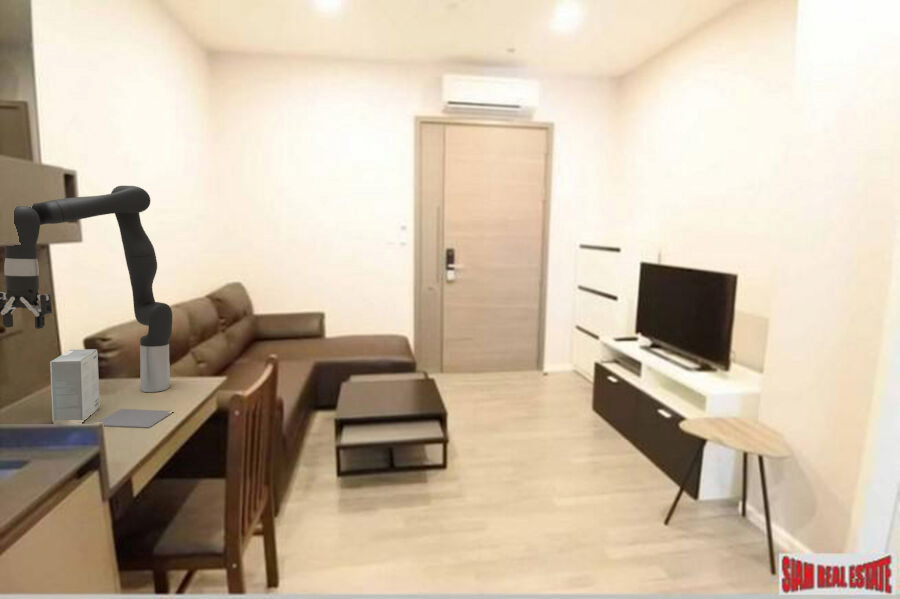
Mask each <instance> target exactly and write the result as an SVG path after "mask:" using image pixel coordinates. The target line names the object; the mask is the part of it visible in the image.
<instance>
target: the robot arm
mask: <svg viewBox="0 0 900 599" xmlns="http://www.w3.org/2000/svg"><path fill="white" fill-rule="evenodd" d="M33 203H34V204H33V206H32V208H31V207H28V206H17V207H16V208H15V210H14V224H15V226H16V229H17V232H18V236H19V242H20V243H21V245H14V246H6V247H5V246H4V267H3V269H4V271H3V274H4V288H5V290H6V292H5V291H0V315H2V325H3V326H4V328H8V329H10V328H12V327H14V318H13V317H14V316H13V312H14V311H15V309H19V308H21V309H28V311H30V312H32V314H34V327H35V329H37V330H38V329H39V330H40V329H43V328H44V327H45V325H46V322H45V316H46V315H49V314H52V312H53V310H52V308H53V307H52V299H51V294H50V293H45V294H40V293H39V289H40V273H39V272H40V271H39V261H38V247H37V243H38V239H39V234H40V228H41V225H50V224H51V225H54V224H57V225H58V224H61V223H67V222H73V221H78V220H83V219H87V218H92V217H93V218H94V217H99V216H105V215H111V214H113V215H115V218H116V220H117V221H116V222H117V226H118V228H119V234H120V238H121V242H122V247H123V252H124V258H125V262H126V267H127V270H128V274H129V280H130V285H131V290H132V301H133V311H134V317H135V320H136V321H137V323H139V324H140V325H143V326H147V327H148V332H147V334H145V335H142V336H141V337H140V340H139V347H140V348H139V350H140V351H139V352H140V353H139V356H140V361H139V362H140V363H139V364H140V368H139V369H140V371H139V372H140V376H139V377H140V378H139V379H140V383H139V384H140V386H139V387H140V391H141V392H144V393H157V392H162V391H166V390H168V389H169V388H170V386H171V382H170V381H171V380H170V378H171V377H170V376H171V375H170V373H171V372H170V371H171V370H170V369H171V364H170V363H171V362H170V339H171V336H172V334H173V332H172V331H173V310H172V308H171V306H170V305H169V304H167V303H164V302H161V301H160V302H159V301H156V300H155V297H154V292H153V284H154V280H155V278H156V274H157V270H158V260H157V255H156V251H155V248H154V245H153V243H152V241H151V240H150V237H149V236H148V234H147V233H146V231H145V230H144V227H143V224H142V221H141V217H140V213H143V212H144V211H146V210H147V209H148V208H149V207H150V205H151V196H150V194H149V193H148V192H147V191H146V190H145V189H143V188H141V187H140V186H135V185H118V186H116V187H114V188H113V189H112V191H111V193H107V194H102V195H101V194H100V195H90V196H75V197H67V198H66V197H64V198H57V199H52V200H46V201H43V202H42V201H41V202H33ZM39 302H40V303H39Z"/></svg>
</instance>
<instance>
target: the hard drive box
mask: <svg viewBox="0 0 900 599" xmlns="http://www.w3.org/2000/svg"><path fill="white" fill-rule="evenodd" d="M98 356H99V355H98V349H95V348H93V349H92V348H90V349H89V348H88V349H87V348H85V349H69V350H67V351H66V352H64V353H62V354H61V355H59V356H58V357H56V358H54V359H53V360H51V361H50V362H49V370H50V388H51V389H50V393H51V412H52V413H51V417H52V421H53V420H84V419H85V418H87V417H89V416H90V415H91V416H92V415H93V414H94V413H96V411H98V410H99V408H100V404H101V402H100V401H101V400H100V399H101V398H100V381H99V380H100V379H99V377H100V376H99V360H98V358H99V357H98ZM91 416H90V417H91ZM90 417H89V418H90Z"/></svg>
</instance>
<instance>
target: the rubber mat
mask: <svg viewBox="0 0 900 599" xmlns="http://www.w3.org/2000/svg"><path fill="white" fill-rule="evenodd" d="M169 411H170V410H162V409H161V410H160V409H159V410H157V409H137V408H136V409H135V408H134V409H133V408H132V409H131V408H120V409H118V410H116V411H114V412H112V413H110V414H108V415H107V416H105V417H103V418H101V419H99V420H96V422H103V424H104V426H103V427H106V426H108V427H110V428H114V427H115V428H134V429H137V428H138V429H139V428H140V429H150V428H152V427H153V426H155V425H157V424H159V423H160V422H161V421H163V420H164V419H166V418H167V417H168V416H167V415H169V414H170V413H168V412H169ZM170 415H171V414H170ZM170 415H169V416H170ZM166 416H167V417H166ZM165 417H166V418H165ZM163 418H164V419H163ZM162 419H163V420H162ZM159 421H160V422H159ZM156 423H157V424H156Z"/></svg>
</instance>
